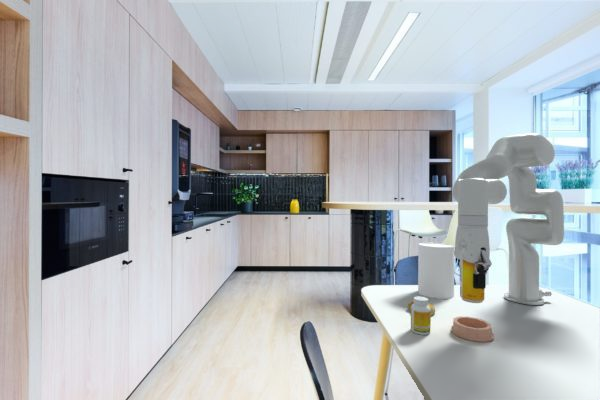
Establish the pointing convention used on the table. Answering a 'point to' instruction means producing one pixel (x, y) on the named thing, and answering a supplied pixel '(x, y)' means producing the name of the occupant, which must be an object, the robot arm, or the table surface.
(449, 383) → the table surface
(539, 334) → the table surface
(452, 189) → the robot arm
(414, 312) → the supplement bottle
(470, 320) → the jar base
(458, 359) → the table surface
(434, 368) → the table surface
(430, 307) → the bread roll
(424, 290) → the canister
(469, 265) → the beer can
